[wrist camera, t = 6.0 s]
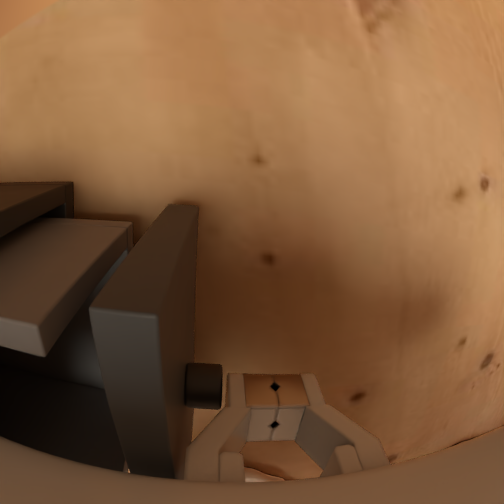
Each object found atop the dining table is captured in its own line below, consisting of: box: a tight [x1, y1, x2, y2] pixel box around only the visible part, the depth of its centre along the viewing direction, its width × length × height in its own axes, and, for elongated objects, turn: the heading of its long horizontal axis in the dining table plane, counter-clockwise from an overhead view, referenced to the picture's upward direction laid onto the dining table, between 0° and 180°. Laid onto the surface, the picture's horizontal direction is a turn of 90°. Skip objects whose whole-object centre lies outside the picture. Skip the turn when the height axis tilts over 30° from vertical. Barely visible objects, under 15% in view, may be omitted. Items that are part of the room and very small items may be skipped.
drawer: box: [0, 204, 223, 480], centre depth 9 cm, size 15×10×8 cm
